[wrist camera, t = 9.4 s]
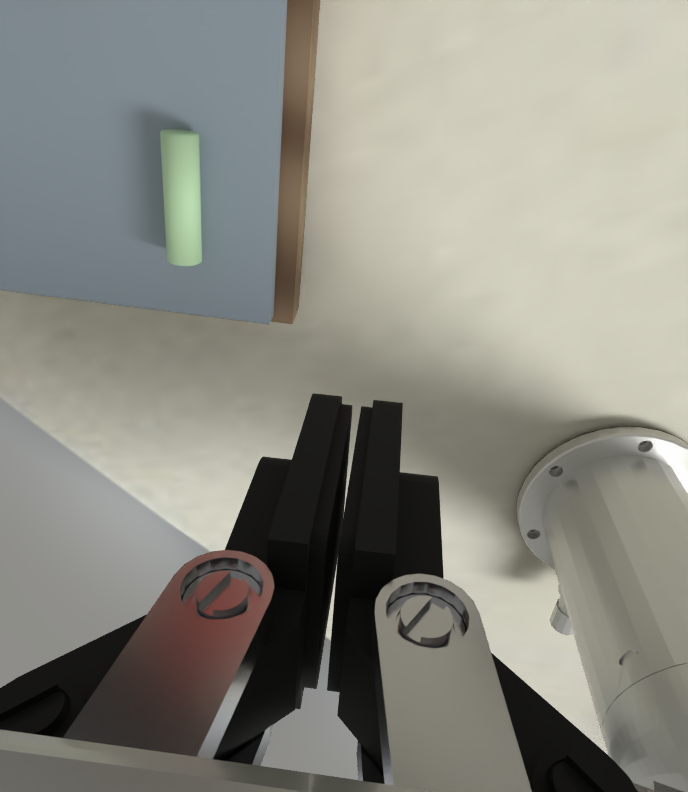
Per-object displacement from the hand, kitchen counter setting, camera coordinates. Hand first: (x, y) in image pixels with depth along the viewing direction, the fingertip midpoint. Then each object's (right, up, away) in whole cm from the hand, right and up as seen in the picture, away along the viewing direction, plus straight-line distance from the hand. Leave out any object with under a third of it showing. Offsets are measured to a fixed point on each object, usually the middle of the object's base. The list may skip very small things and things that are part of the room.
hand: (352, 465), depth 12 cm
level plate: (-12, +15, +16) cm, 25 cm away
